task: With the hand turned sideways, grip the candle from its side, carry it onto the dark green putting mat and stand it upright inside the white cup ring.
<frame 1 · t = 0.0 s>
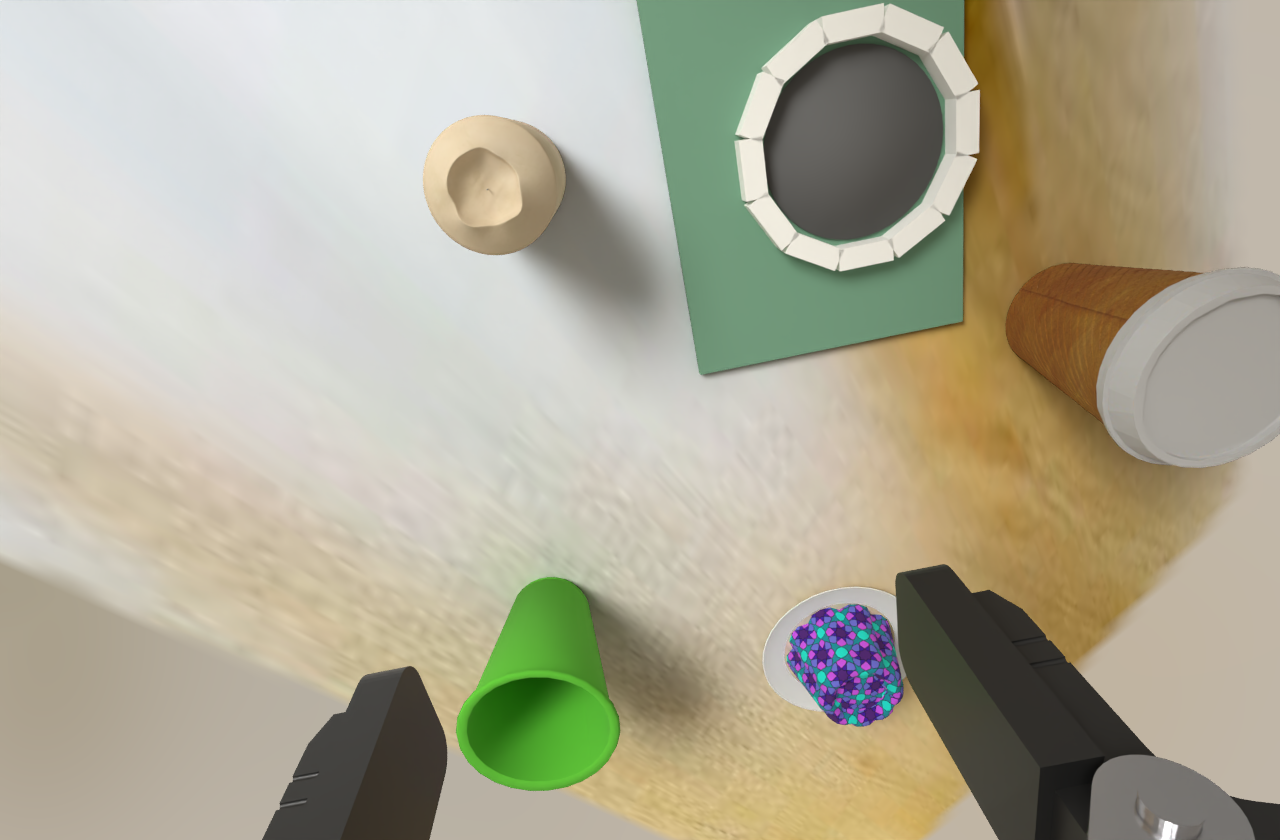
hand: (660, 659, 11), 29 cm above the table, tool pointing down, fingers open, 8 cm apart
disposable coffee cup: (1053, 314, 40), on the table
putting green: (812, 154, 35), on the table
cup: (552, 603, 46), on the table
candle: (515, 177, 35), on the table
pudding: (837, 643, 50), on the table
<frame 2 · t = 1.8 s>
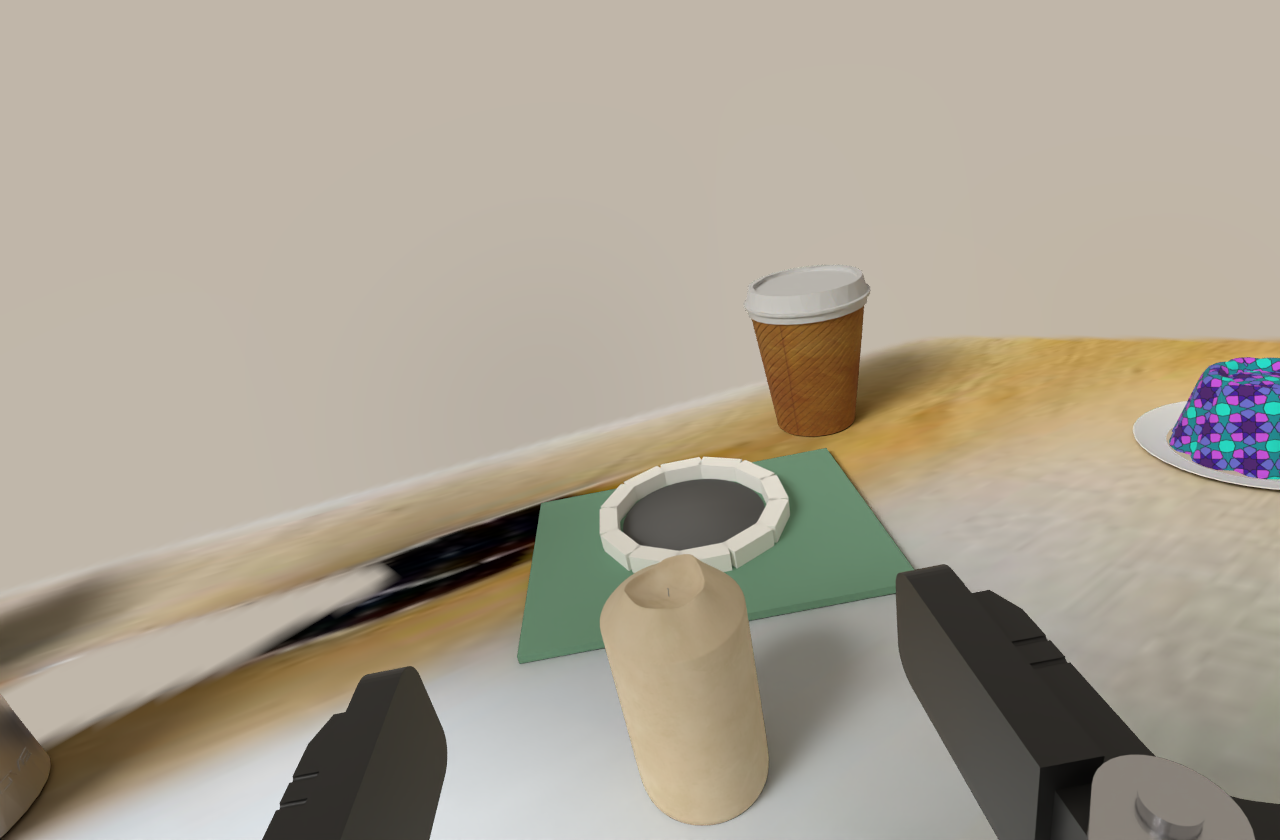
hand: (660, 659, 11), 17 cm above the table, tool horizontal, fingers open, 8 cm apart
disposable coffee cup: (815, 421, 55), on the table
putting green: (698, 541, 42), on the table
candle: (705, 767, 28), on the table
pudding: (1250, 452, 41), on the table
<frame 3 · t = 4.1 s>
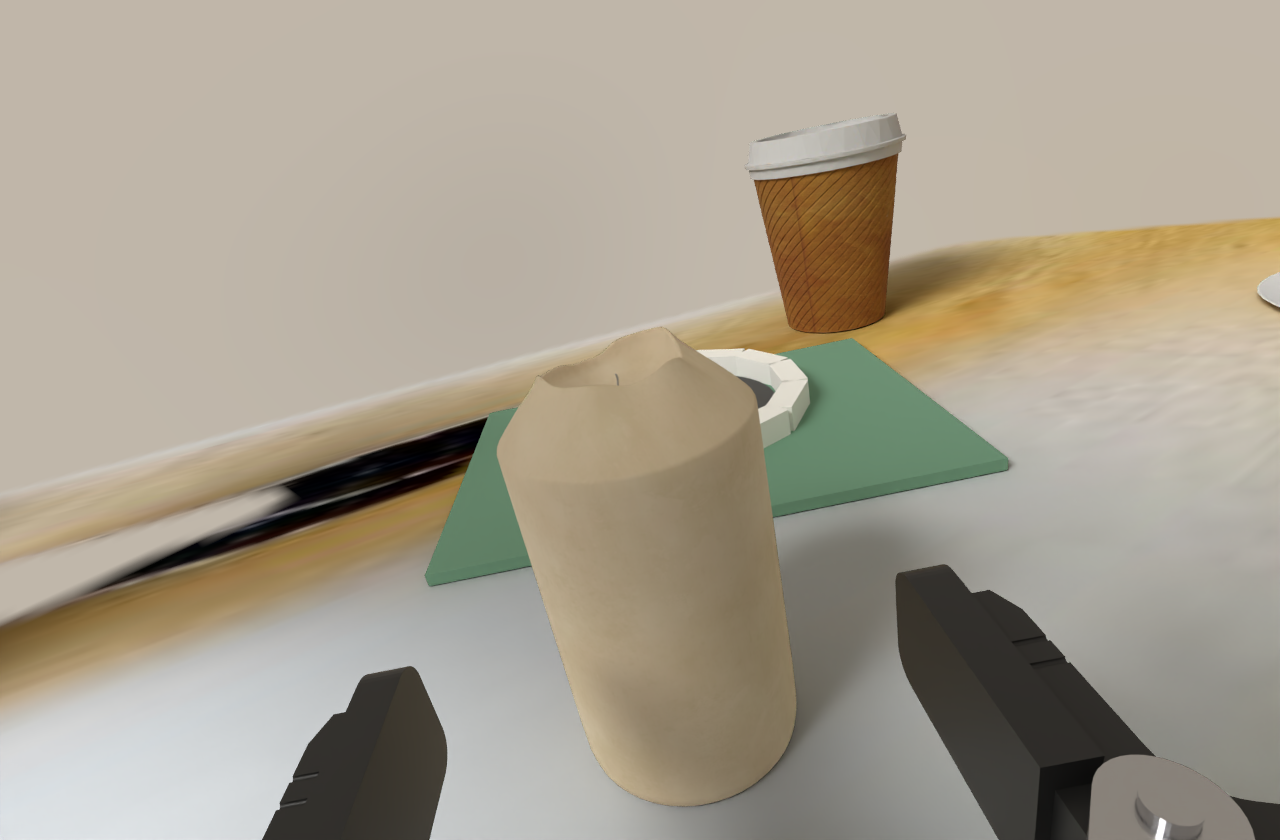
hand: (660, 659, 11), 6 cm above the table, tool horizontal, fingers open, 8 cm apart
disposable coffee cup: (835, 321, 44), on the table
putting green: (688, 439, 32), on the table
candle: (692, 716, 17), on the table
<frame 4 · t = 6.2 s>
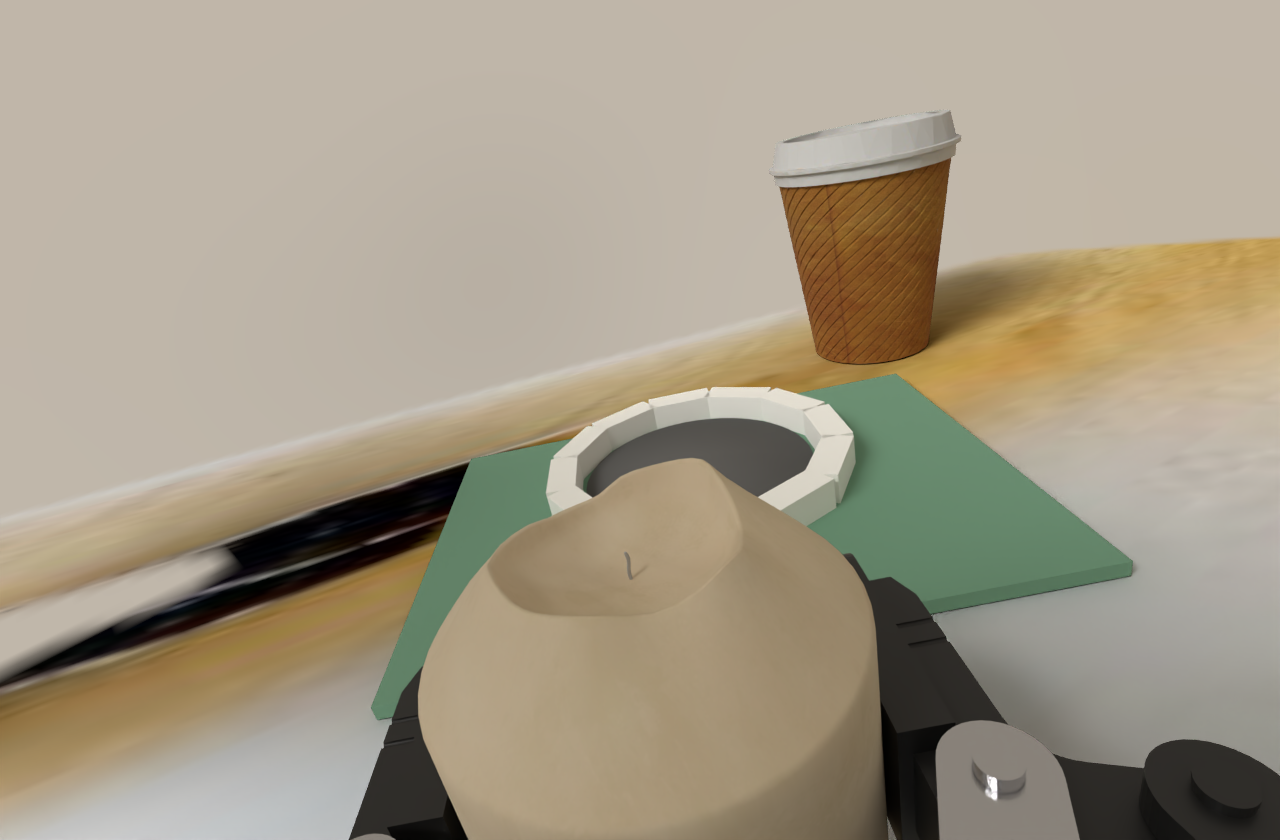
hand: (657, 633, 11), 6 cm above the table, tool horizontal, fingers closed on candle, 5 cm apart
disposable coffee cup: (870, 348, 39), on the table
putting green: (706, 505, 26), on the table
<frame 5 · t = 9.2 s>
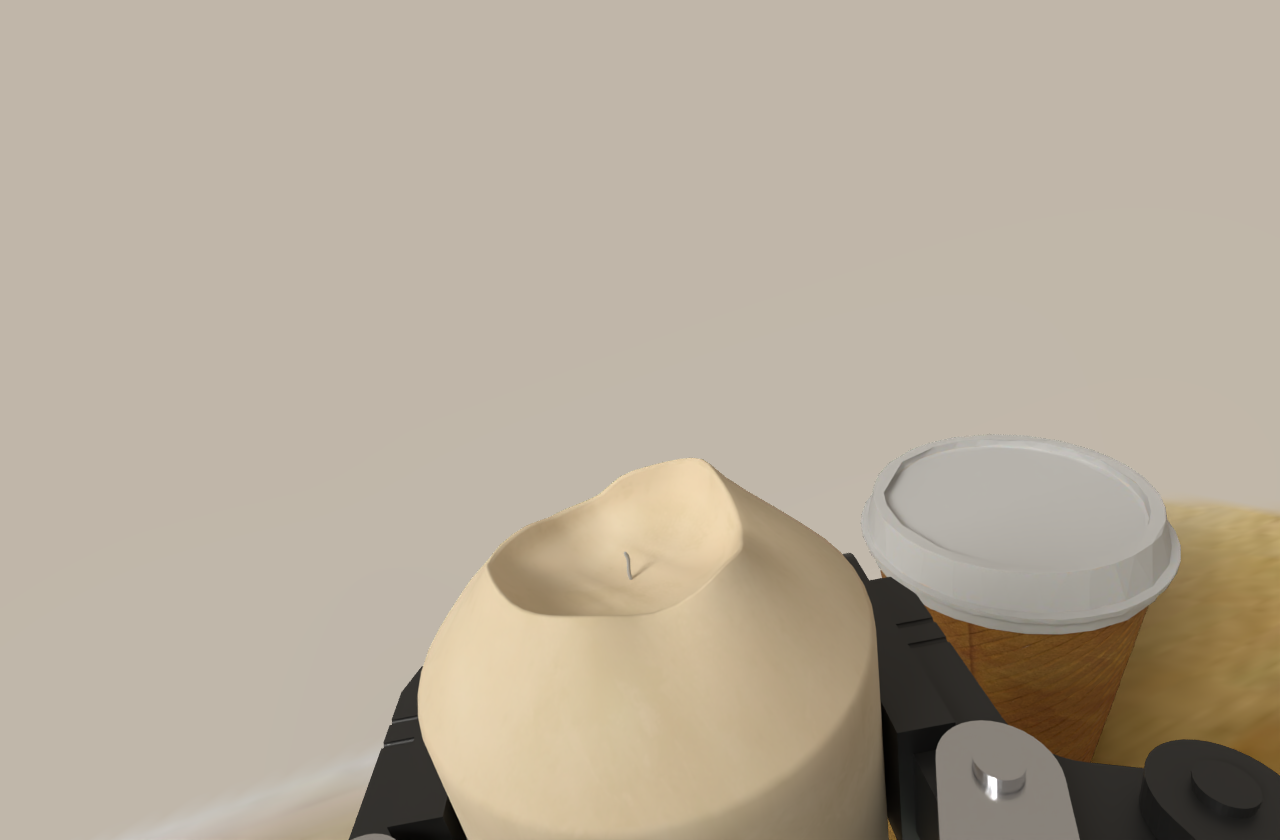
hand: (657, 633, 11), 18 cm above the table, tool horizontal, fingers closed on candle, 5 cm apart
disposable coffee cup: (995, 741, 27), on the table
when the fingers open (7 cm above the table, at t = 12.0 s): candle stays where it is, resting on putting green.
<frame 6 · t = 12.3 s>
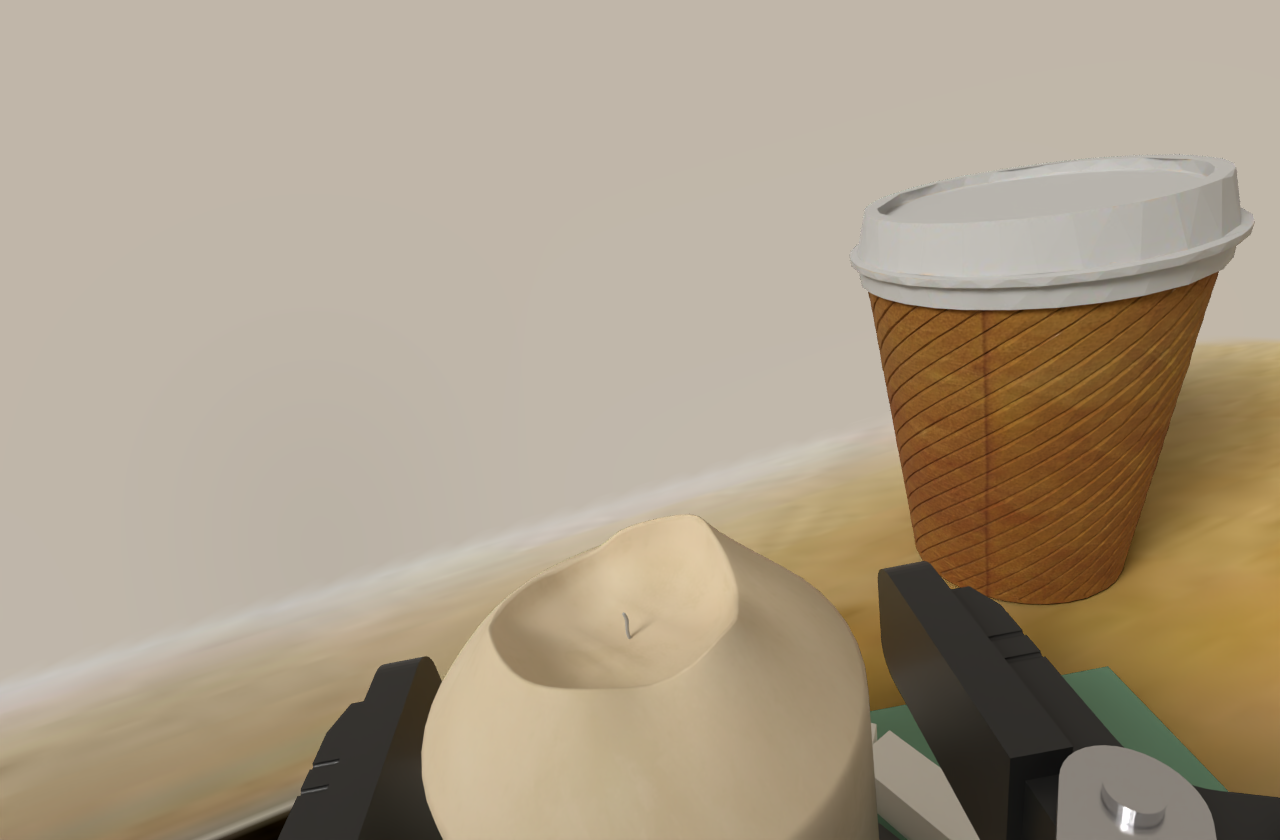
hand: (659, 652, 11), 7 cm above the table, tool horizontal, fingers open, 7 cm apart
disposable coffee cup: (1012, 549, 23), on the table
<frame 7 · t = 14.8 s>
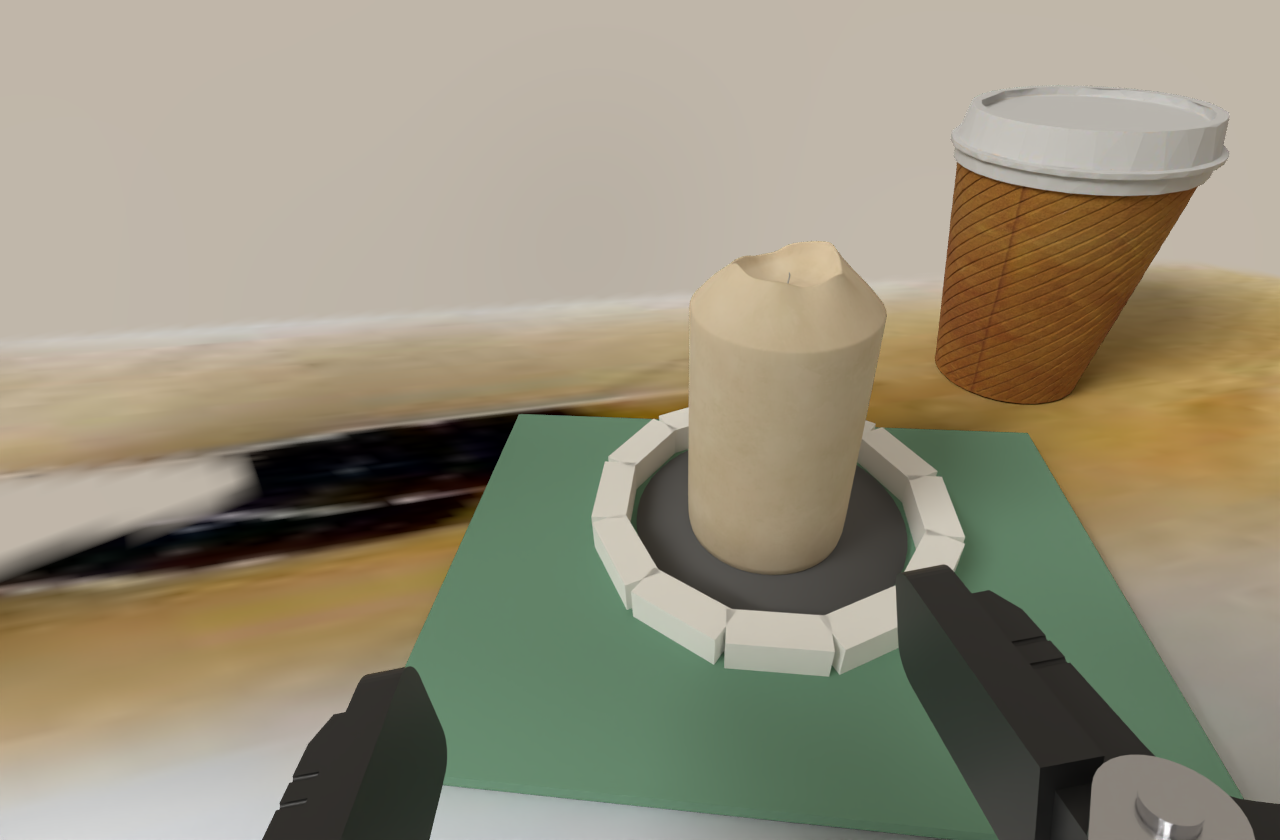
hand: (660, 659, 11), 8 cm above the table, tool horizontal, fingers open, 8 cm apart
disposable coffee cup: (1001, 372, 33), on the table
putting green: (768, 571, 23), on the table
candle: (763, 522, 24), point 1 cm above the table, touching putting green
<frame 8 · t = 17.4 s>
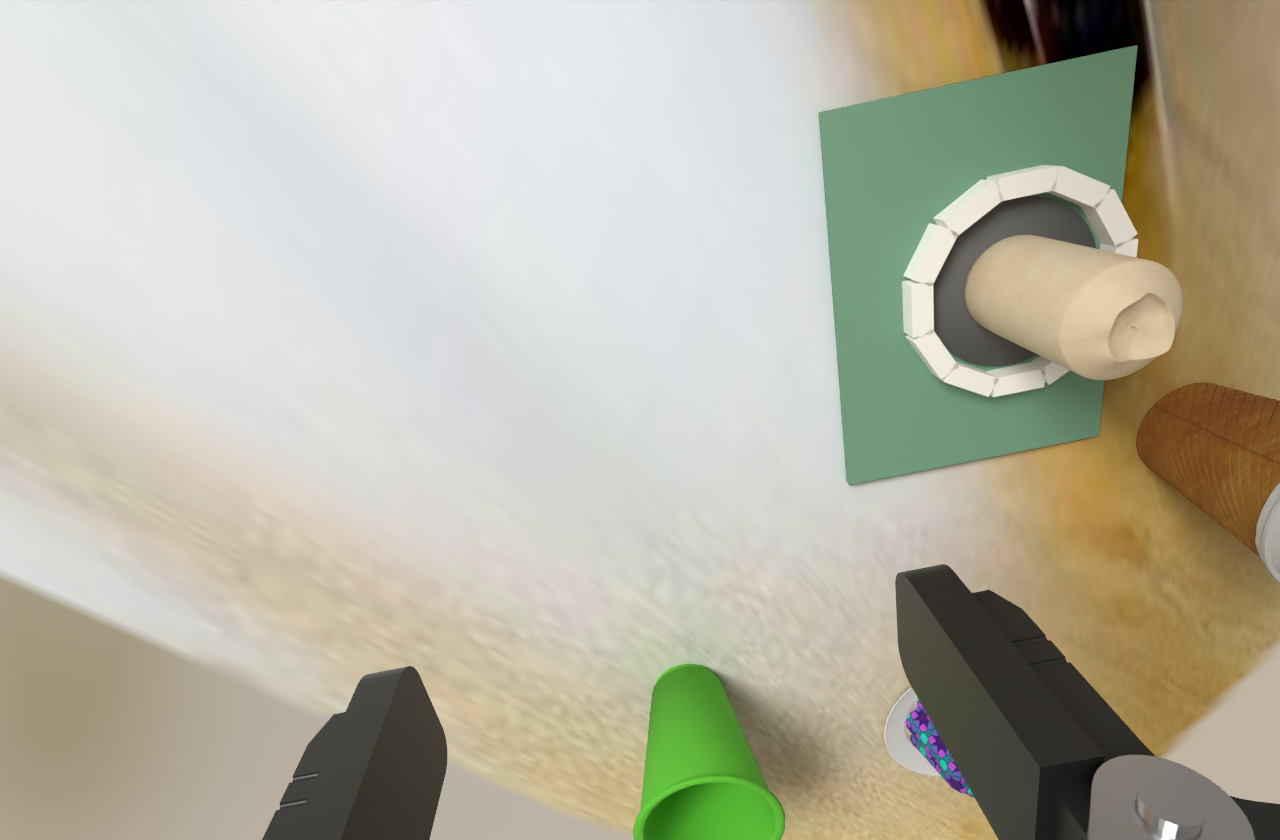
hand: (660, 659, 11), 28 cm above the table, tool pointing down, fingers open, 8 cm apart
disposable coffee cup: (1182, 426, 42), on the table
putting green: (971, 290, 38), on the table
cup: (686, 687, 49), on the table
candle: (1008, 282, 37), point 1 cm above the table, touching putting green
pudding: (954, 712, 52), on the table
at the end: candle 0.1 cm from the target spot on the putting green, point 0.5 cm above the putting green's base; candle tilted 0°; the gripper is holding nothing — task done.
